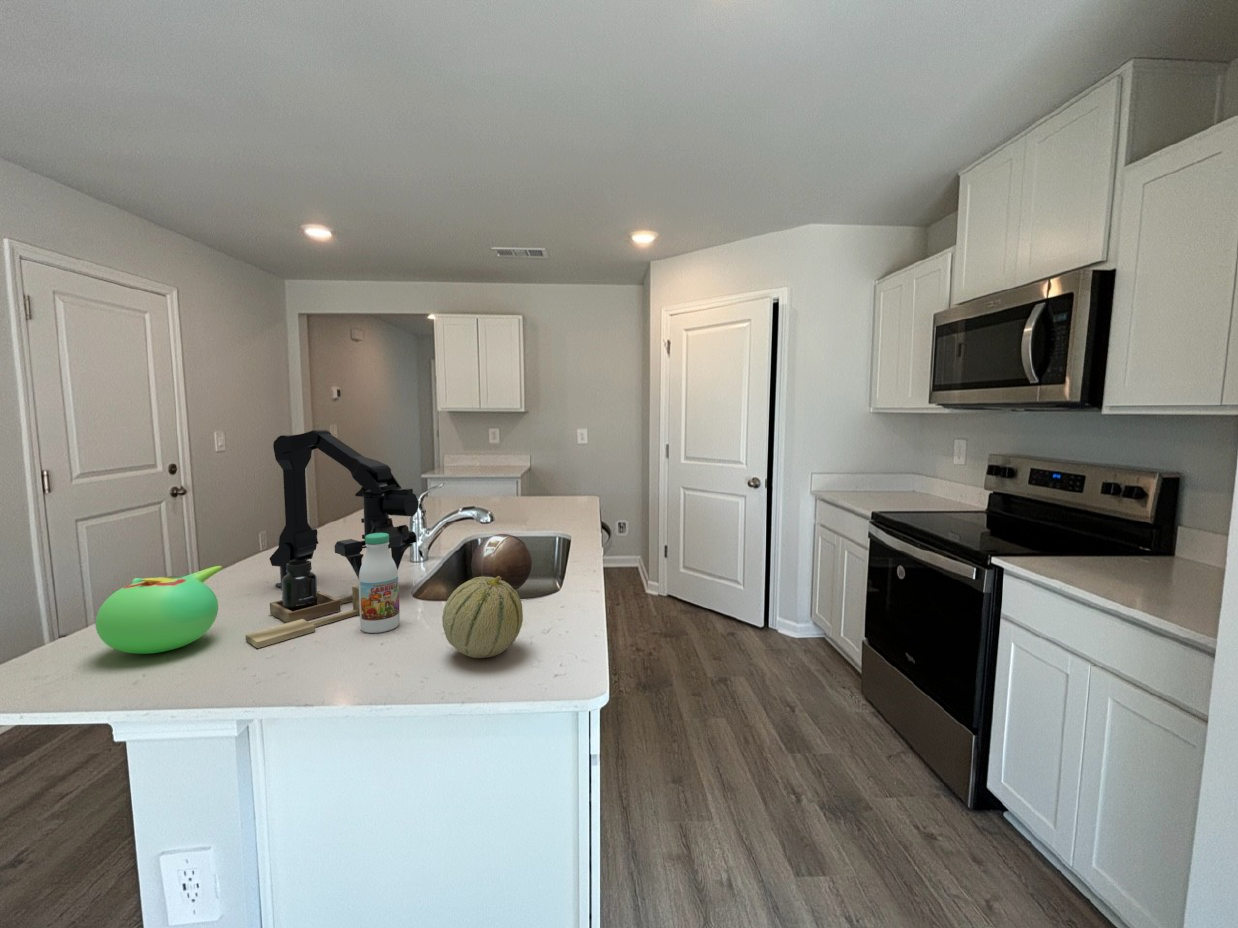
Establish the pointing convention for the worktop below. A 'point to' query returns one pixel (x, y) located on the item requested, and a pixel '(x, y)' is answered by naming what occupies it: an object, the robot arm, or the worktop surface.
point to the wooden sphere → (503, 560)
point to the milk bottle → (378, 587)
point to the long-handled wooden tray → (298, 626)
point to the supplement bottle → (299, 586)
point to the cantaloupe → (482, 617)
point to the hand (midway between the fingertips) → (378, 575)
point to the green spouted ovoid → (158, 613)
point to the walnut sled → (309, 608)
